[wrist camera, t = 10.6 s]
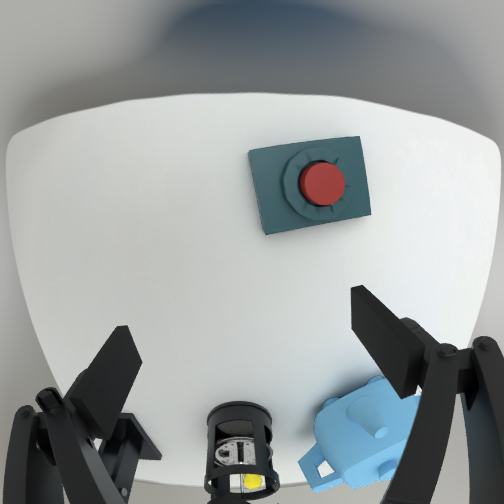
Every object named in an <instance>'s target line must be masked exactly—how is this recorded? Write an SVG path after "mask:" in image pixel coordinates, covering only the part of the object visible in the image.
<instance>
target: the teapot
mask: <svg viewBox="0 0 504 504" xmlns="http://www.w3.org/2000/svg"><path fill="white" fill-rule="evenodd" d="M419 399H420V396H414V395H412V396H409V397H407V398H404V399H402V400H401V399H400V398H399V396H398V395H397V393H396V392H395V390H394V389H393V387H392V386H391V384H390V383H389V381H388V380H387V378H385V379H383V377H382V376H375V377H373V378H371V379H370V380H369V381H368V383H367V385H366V386H364V387H362V388H359V389H357V390H355V391H353V392H351V393H349V394H347V395H345V396H344V397H342V398H337V397H333V398H330V399H328V400H326V401H325V402H324V404H323V410H321V411H320V412H319V413H318V414H317V416H316V419H315V422H314V428H313V429H314V435H315V438H316V441H317V443H316V444H315V445H314V446H313V448H312V449H311V450H310V451H308V452H307V453H306V454H305V455H304V456H303V457H302V458H301V459H300V460H299V461H298V463H299V465H300V467H301V469H302V471H303V473H304V475H305V477H306V479H307V481H308V483H309V485H310V487H311V489H312V490H313V491H314V492H315V493H317V492H320V491H323V490H326V489H329V488H331V487H334V486H336V485H339V484H341V483H344V482H345V483H346V484H347V485H348V486H349V487H351V488H360V487H363V486H366V485H369V484H372V483H374V482H377V481H386V480H389V479H391V478H392V477H393V475H394V472H395V470H396V467H397V465H398V463H399V460H400V458H401V455H402V452H403V450H404V447H405V444H406V442H407V439H408V436H409V433H410V430H411V427H412V424H413V421H414V417H415V414H416V410H417V407H418V403H419ZM325 460H326V461H327V462H328V464H329V465H330V466H331V468H332V469H333V470H334V471H335V472H333V473H331V474H329V475H327V476H325V477H323V478H321V476H320V474H319V471H318V468H317V467H318V466H319V465H320V464H322V463H323V462H324V461H325Z"/></svg>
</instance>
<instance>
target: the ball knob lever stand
mask: <svg viewBox="0 0 504 504" xmlns="http://www.w3.org/2000/svg"><path fill="white" fill-rule="evenodd" d="M98 454H99V456H100V458H101V460H102V462H103V464H104V466H105V468H106V470H107V472H108V474H109V476H110V478H111V479H112V481H113V483H114V485H115V487H116V488H117V490H118V492H119V493H120V495H121V497H122V498H123V500H124V502H125V503H126V504H128V500H129V496H130V492H131V487H132V483H133V479H134V475H135V472H136V468H137V464H138V460H139V459H145V460H161V457H162V455H161V454H160V452H159V451H158V450H157V448H156V447H155V446H154V444H153V443H152V442H151V440H150V439H149V437H148V436H147V434H146V433H145V432H144V430H143V429H142V427H141V426H140V424H139V423H138V421H137V420H136V418H135V417H134V415H133V414H132V413H120V416H119V418H118V420H117V423H116V425H115V428H114V430H113V433H112V435H111V438H110V440H106V439H103V440H102V442H101V445H100V447H99V450H98Z"/></svg>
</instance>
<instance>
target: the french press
mask: <svg viewBox="0 0 504 504" xmlns="http://www.w3.org/2000/svg"><path fill="white" fill-rule="evenodd" d="M234 420H247V421H252V427H253V434H251V435H247V436H231V435H228V434H225V433H223V432H222V431H220V430H219V429H218V427H217V425H219V424H221V423H224V422H228V421H234ZM271 424H272V418H271V415H270V413H269V412H268V411H267V410H266V409H265V408H263V407H262V406H260V405H258V404H254V403H251V402H243V401H236V402H229V403H225V404H222V405H219V406H217V407H216V408H214V409H213V410H212V411H211V412H210V413H209V415H208V418H207V425H208V450H207V465H206V475H205V479H204V488H205V490H206V491H207V492H208V493H209V494H211V500H210V501H209V502H208V503H207V504H250V503H248V502H246V501H248V500H256V499H260V498H264V497H267V496H270V495H272V494H273V493H275V492H276V491H277V490H278V489H279V487H280V481H279V475H278V474H277V472H275V471H274V470H273V465H272V458H271V457H272V455H273V450H272V448H271V447H270V442H271V441H272V429H271ZM231 474H240V485H241V493H232V492H230V475H231ZM243 474H257V475H263V476H265V484H266V489H263V490H260V491H256V492H250V493H244V485H243ZM210 480H211V485H210V484H208V482H209V481H210ZM275 481H276V482H275Z"/></svg>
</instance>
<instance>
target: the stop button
mask: <svg viewBox="0 0 504 504" xmlns="http://www.w3.org/2000/svg"><path fill="white" fill-rule="evenodd" d="M300 187H301V191H302V193H303V195H304V196H305V197H306V198H307V199H308V200H310V201H311V202H314V203H317V204H320V205H330V204H333V203H335V202H337V201H338V200H339V199H340V198H341V196H342V195H343V192H344V189H345V180H344V176H343V174H342V172H341V171H340V170H339V169H338V168H337V167H336V166H335V165H333V164H330V163H316V164H312V165H310V166H309V167H307V168H306V169H305V170H304V171H303V173H302V175H301V178H300Z"/></svg>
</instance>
